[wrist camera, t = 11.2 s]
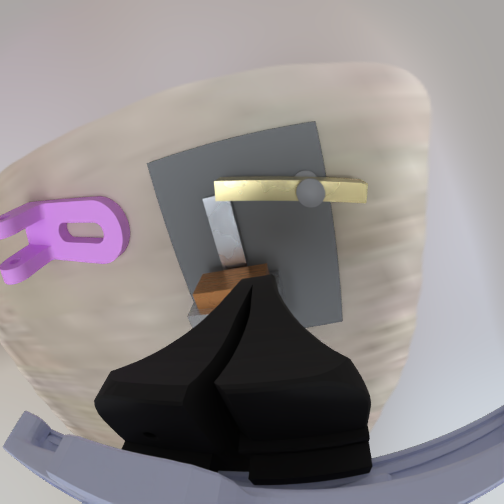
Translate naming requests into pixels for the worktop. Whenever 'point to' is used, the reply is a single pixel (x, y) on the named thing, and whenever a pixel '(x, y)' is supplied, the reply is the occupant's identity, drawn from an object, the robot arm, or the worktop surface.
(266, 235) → the grey latch board
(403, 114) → the worktop surface
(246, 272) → the orange block with stem
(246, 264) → the block
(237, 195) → the keeper bar
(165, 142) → the worktop surface
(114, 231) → the bracket
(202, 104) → the worktop surface
